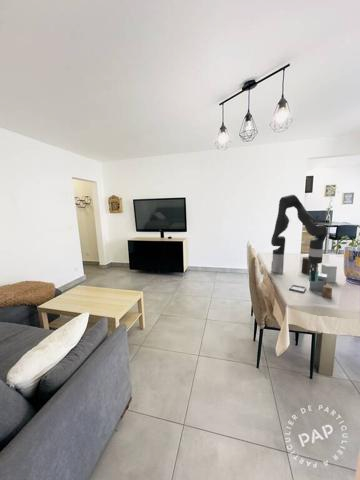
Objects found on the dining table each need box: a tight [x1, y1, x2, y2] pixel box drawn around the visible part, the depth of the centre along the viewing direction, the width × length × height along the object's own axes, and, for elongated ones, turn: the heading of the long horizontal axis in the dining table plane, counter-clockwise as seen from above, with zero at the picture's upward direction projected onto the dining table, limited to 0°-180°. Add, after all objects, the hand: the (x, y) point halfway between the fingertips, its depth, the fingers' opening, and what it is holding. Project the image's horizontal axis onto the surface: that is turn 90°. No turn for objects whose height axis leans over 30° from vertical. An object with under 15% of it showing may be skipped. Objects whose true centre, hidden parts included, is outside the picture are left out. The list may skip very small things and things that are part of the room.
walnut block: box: [322, 284, 334, 300], centre depth 125 cm, size 4×4×7 cm
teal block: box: [308, 270, 320, 283], centre depth 128 cm, size 4×4×7 cm
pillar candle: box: [301, 256, 312, 276], centre depth 170 cm, size 10×10×15 cm
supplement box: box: [320, 263, 338, 283], centre depth 152 cm, size 7×7×13 cm
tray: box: [288, 284, 307, 294], centre depth 138 cm, size 9×9×1 cm
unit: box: [309, 272, 328, 293], centre depth 136 cm, size 9×8×11 cm
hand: (313, 279), depth 129 cm, fingers closed on teal block, 4 cm apart
